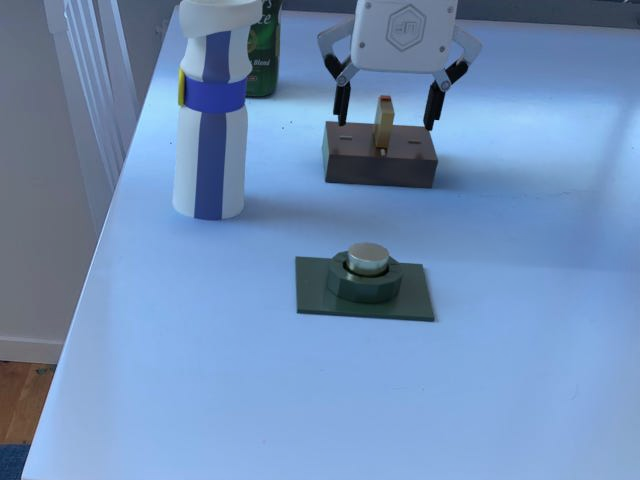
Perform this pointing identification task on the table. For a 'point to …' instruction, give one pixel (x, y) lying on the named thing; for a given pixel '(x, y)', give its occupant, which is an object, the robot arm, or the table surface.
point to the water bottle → (213, 107)
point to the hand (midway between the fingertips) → (384, 124)
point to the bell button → (367, 260)
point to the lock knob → (383, 121)
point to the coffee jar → (264, 50)
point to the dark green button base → (361, 290)
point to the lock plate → (378, 156)
